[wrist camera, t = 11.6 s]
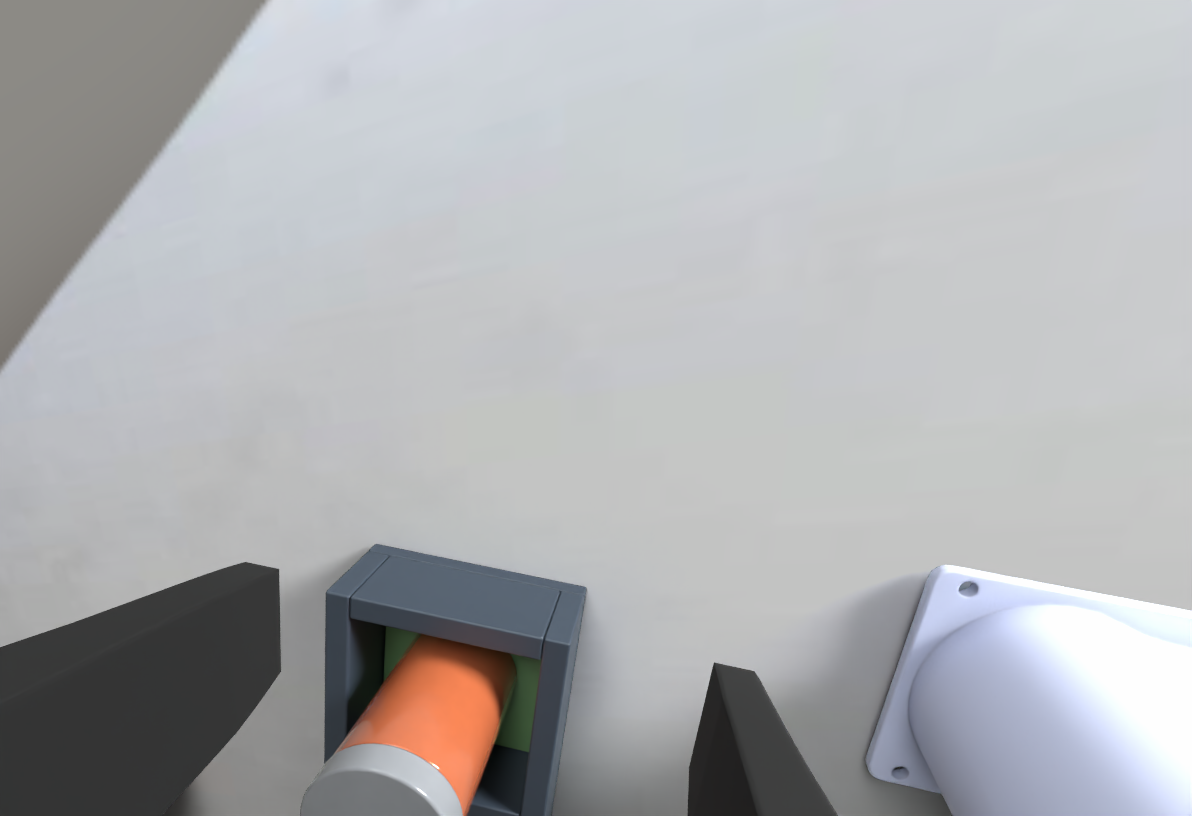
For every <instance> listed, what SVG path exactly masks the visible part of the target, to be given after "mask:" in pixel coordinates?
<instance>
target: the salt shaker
mask: <svg viewBox="0 0 1192 816" xmlns="http://www.w3.org/2000/svg"><path fill="white" fill-rule="evenodd" d="M516 683H517V673H516V667H515V663H514V660H513V658H512V656H511V654H510V653H505V652H501V651H496V650H492V649H487V648H482V647H478V646H473V645H469V644H464V643H460V642H455V641H451V640H446V639H442V638H437V637H433V636H428V635H424V634H419V633H418V634H417V635H416V636H415V638H414V639H413V641H412V642H411V643H410V645H409V646H408V648H407V649H406V651H405V652H404V654H403V655H402V656H401V658H400V659H399V661H398V662H397V664H396V665H395V667H394V668H393V669H392V671H391V672H390V674H389V675H388V677H387V678H386V679H385V681H384V682H383V684H382V685H381V687H380V688H379V690H378V691H377V692H376V694H375V695H374V697H373V698H372V700H371V701H370V703H369V704H368V705H367V707H366V708H365V710H364V711H363V713H362V714H361V716H360V717H359V718H358V720H357V721H356V723H355V724H354V726H353V727H352V728H351V730H350V731H349V733H348V734H347V736H346V737H345V739H344V740H343V741H342V743H341V744H340V746H339V747H338V749H337V750H336V752H335V753H334V754H333V756H332V757H331V758H330V759H329V760H328V761H327V762H326V763H325V764H324V766H323V767H322V768H321V770H320V771H319V773H318V774H317V776H316V777H315V778H314V780H313V781H312V783H311V784H310V786H309V787H308V788H307V790H306V792H305V794H304V796H303V800H302V804H301V809H300V816H467V815H468V812H469V809H470V807H471V804H472V801H473V799H474V796H475V794H476V791H477V788H478V786H479V783H480V780H481V778H482V775H483V772H484V770H485V767H486V765H487V762H488V759H489V757H490V754H491V751H492V749H493V746H494V743H495V741H496V738H497V736H498V733H499V730H500V728H501V725H502V722H503V720H504V717H505V714H506V712H507V709H508V707H509V704H510V701H511V699H512V696H513V693H514V691H515V688H516Z"/></svg>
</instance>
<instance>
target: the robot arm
mask: <svg viewBox="0 0 1192 816" xmlns="http://www.w3.org/2000/svg"><path fill="white" fill-rule="evenodd" d="M965 582H971V585H970V586H969V588H967V589H964V590H959V587H960V585H961V584H963V583H965ZM280 672H281V651H280V595H279V569H276V568H271V567H266V566H262V565H257V564H252V563H248V562H244V563H240V564H237V565H233V566H230V567H227V568H224V569H220V570H217V571H215V572H212V573H209V574H206V575H203V576H200V577H197V578H194V579H192V580H189V581H186V582H183V583H180V584H178V585H175V586H172V587H169V588H167V589H164V590H161V591H159V592H156V593H153V594H150V595H148V596H145V597H142V598H140V599H137V600H134V601H131V602H129V603H126V604H123V605H120V606H118V607H115V608H112V609H109V610H107V611H104V612H101V613H98V614H96V615H93V616H90V617H88V618H85V619H82V620H79V621H76V622H74V623H71V624H68V625H65V626H62V627H59V628H56V629H53V630H50V631H47V632H44V633H41V634H38V635H35V636H32V637H29V638H27V639H24V640H21V641H18V642H15V643H12V644H9V645H6V646H3V647H0V816H161V815H162V814H163V813H164V812H165V811H166V810H167V809H168V808H169V807H170V806H171V805H172V803H173V802H174V801H175V800H176V799H177V798H178V797H179V796H180V795H181V794H182V793H183V791H184V790H185V789H186V788H187V787H188V786H189V785H190V784H191V783H192V782H193V781H194V779H195V778H196V777H197V776H198V775H199V774H200V773H201V772H202V771H203V769H204V768H205V767H206V766H207V765H208V764H209V763H210V762H211V761H212V760H213V758H214V757H215V756H216V755H217V754H218V753H219V752H220V751H221V750H222V748H223V747H224V746H225V745H226V744H227V743H228V742H229V740H230V739H231V738H232V737H233V736H234V735H235V734H236V733H237V731H238V730H239V729H240V727H241V726H242V725H243V723H244V722H245V721H246V719H247V718H248V717H249V715H250V714H251V713H252V711H253V710H254V709H255V707H256V706H257V705H258V703H259V702H260V701H261V699H262V698H263V696H264V695H265V693H266V692H267V691H268V689H269V688H270V686H271V685H272V683H273V682H274V681H275V679H276V678H277V676H278V675H279V673H280ZM866 764H867V767H868V770H869V772H870V774H871V775H872V776H873V777H874V778H877V779H879V780H883V781H887V782H891V783H896V784H900V785H904V786H909V787H913V788H918V789H922V790H926V791H931V792H935V793H939V794H942V795H943V797H944V799H945V801H946V803H947V805H948V807H949V810H950V812H951V814H952V816H1192V611H1189V610H1184V609H1179V608H1173V607H1168V606H1163V605H1158V604H1152V603H1147V602H1142V601H1137V600H1131V599H1126V598H1121V597H1116V596H1110V595H1105V594H1100V593H1094V592H1089V591H1084V590H1079V589H1073V588H1068V587H1063V586H1058V585H1052V584H1047V583H1042V582H1037V581H1031V580H1026V579H1021V578H1016V577H1010V576H1005V575H1000V574H995V573H989V572H984V571H979V570H973V569H968V568H963V567H958V566H952V565H942V566H939V567H936V568H935V569H934V570H932V571H931V573H930V574H929V576H928V579H927V581H926V584H925V587H924V590H923V593H922V596H921V599H920V602H919V605H918V608H917V610H916V613H915V616H914V619H913V622H912V625H911V628H910V631H909V634H908V637H907V640H906V642H905V645H904V648H903V651H902V654H901V657H900V660H899V663H898V666H897V669H896V671H895V674H894V677H893V680H892V683H891V686H890V689H889V692H888V695H887V698H886V701H885V703H884V706H883V709H882V712H881V715H880V718H879V721H878V724H877V727H876V730H875V732H874V735H873V738H872V741H871V744H870V747H869V750H868V753H867V756H866ZM896 767H902V768H900V769H894V768H896ZM688 816H838V815H837V813H836V812H835V810H834V808H833V807H832V805H831V804H830V802H829V800H828V799H827V797H826V795H825V794H824V792H823V790H822V789H821V787H820V786H819V784H818V782H817V781H816V779H815V777H814V776H813V774H812V772H811V771H810V769H809V767H808V766H807V764H806V762H805V761H804V759H803V757H802V755H801V754H800V752H799V750H798V748H797V747H796V745H795V743H794V741H793V740H792V738H791V736H790V734H789V732H788V731H787V729H786V727H785V725H784V724H783V722H782V720H781V718H780V716H779V714H778V713H777V711H776V709H775V707H774V705H773V703H772V702H771V700H770V698H769V696H768V694H767V692H766V690H765V688H764V687H763V685H762V683H761V681H760V679H759V678H758V676H757V675H756V673H755V672H754V671H751V670H746V669H741V668H737V667H732V666H727V665H723V664H718V663H714V665H713V669H712V673H711V677H710V682H709V686H708V690H707V694H706V699H705V703H704V707H703V711H702V716H701V720H700V724H699V728H698V732H697V737H696V741H695V745H694V749H693V754H692V758H691V762H690V766H689V791H688Z"/></svg>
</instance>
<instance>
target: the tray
mask: <svg viewBox="0 0 1192 816" xmlns="http://www.w3.org/2000/svg"><path fill="white" fill-rule="evenodd" d="M585 595H586V587H583V586H578V585H573V584H568V583H563V582H558V581H554V580H549V579H544V578H539V577H534V576H529V575H524V574H520V573H515V572H510V571H505V570H500V569H495V568H490V567H486V566H481V565H476V564H471V563H466V562H461V561H457V560H452V559H447V558H442V557H437V556H432V555H427V554H423V553H418V552H413V551H408V550H403V549H398V548H394V547H389V546H384V545H379V544H375V545H374V546H373V547H372V548H371V549H370V550H369V552H367V553H366V554H365V555H364V556H363V557H362V558H361V559H360V560H359V561H358V562H357V563H355V564H354V565H353V566H352V567H351V568H350V569H349V570H348V571H347V572H346V573H345V574H344V575H343V576H342V577H341V578H340V579H339V580H338V581H336V582H335V583H334V584H333V585H332V586H331V587H330V588H329V589H328V590H327V592H326V628H325V753H324V764H325V763H326V762H327V761H328V760H329V759H330V758H331V757H332V756H333V754H334V753H335V752H336V750H337V749H338V747H339V746H340V744H341V743H342V741H343V740H344V739H345V737H346V736H347V734H348V733H349V731H350V730H351V728H352V727H353V726H354V724H355V723H356V721H357V720H358V718H359V717H360V716H361V714H362V713H363V711H364V710H365V708H366V707H367V705H368V704H369V703H370V701H371V700H372V698H373V697H374V695H375V694H376V692H377V691H378V690H379V688H380V687H381V685H382V684H383V682H384V681H385V679H386V678H387V677H388V675H389V674H390V672H391V671H392V669H393V668H394V667H395V665H396V664H397V662H398V661H399V659H400V658H401V656H402V655H403V654H404V652H405V651H406V649H407V648H408V646H409V645H410V643H411V642H412V641H413V639H414V638H415V636H416V635H417V634H418V633H419V634H424V635H428V636H433V637H437V638H442V639H446V640H451V641H455V642H460V643H464V644H469V645H473V646H478V647H482V648H487V649H492V650H496V651H501V652H505V653H510V654H511V656H512V658H513V660H514V663H515V667H516V673H517V683H516V688H515V691H514V693H513V696H512V699H511V701H510V704H509V707H508V709H507V712H506V714H505V717H504V720H503V722H502V725H501V728H500V730H499V733H498V736H497V738H496V741H495V743H494V746H493V749H492V751H491V754H490V757H489V759H488V762H487V765H486V767H485V770H484V772H483V775H482V778H481V780H480V783H479V786H478V788H477V791H476V794H475V796H474V799H473V801H472V804H471V807H470V809H469V812H468V815H467V816H551V815H552V808H553V802H554V795H555V789H556V782H557V776H558V770H559V763H560V757H561V750H562V744H563V737H564V731H565V724H566V718H567V711H568V705H569V698H570V692H571V685H572V679H573V672H574V666H575V660H576V653H577V647H578V640H579V634H580V627H581V621H582V614H583V608H584V601H585Z"/></svg>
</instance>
